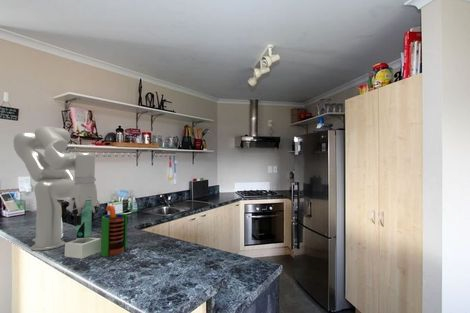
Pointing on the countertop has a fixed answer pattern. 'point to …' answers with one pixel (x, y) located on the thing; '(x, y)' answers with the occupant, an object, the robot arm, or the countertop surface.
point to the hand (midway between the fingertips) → (84, 222)
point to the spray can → (85, 221)
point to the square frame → (82, 248)
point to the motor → (113, 233)
